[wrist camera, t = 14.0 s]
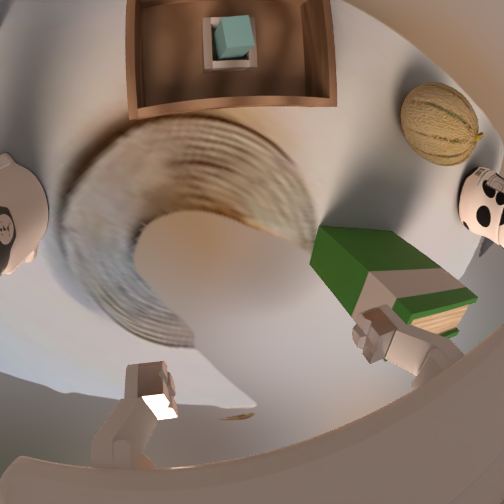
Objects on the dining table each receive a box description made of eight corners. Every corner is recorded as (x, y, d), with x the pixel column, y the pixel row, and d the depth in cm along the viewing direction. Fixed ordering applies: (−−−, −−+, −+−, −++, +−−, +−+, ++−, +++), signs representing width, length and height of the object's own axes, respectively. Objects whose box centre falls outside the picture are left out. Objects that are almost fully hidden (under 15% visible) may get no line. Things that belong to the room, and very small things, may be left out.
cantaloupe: (376, 84, 35) (444, 86, 23) (428, 80, 36) (488, 86, 23) (391, 163, 43) (453, 188, 30) (437, 148, 44) (494, 167, 31)
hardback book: (391, 231, 50) (478, 297, 30) (380, 263, 54) (456, 335, 33) (318, 225, 45) (412, 314, 25) (309, 264, 49) (385, 361, 28)
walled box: (140, 119, 31) (129, 119, 24) (137, 6, 22) (128, -16, 16) (309, 106, 36) (337, 106, 29) (303, 3, 27) (327, -14, 20)
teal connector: (217, 62, 29) (226, 48, 22) (212, 37, 27) (220, 17, 20) (239, 59, 29) (254, 45, 22) (234, 34, 27) (248, 15, 20)
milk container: (468, 232, 59) (513, 262, 43) (444, 213, 52) (500, 247, 37) (489, 179, 52) (536, 203, 37) (467, 151, 46) (526, 174, 31)
